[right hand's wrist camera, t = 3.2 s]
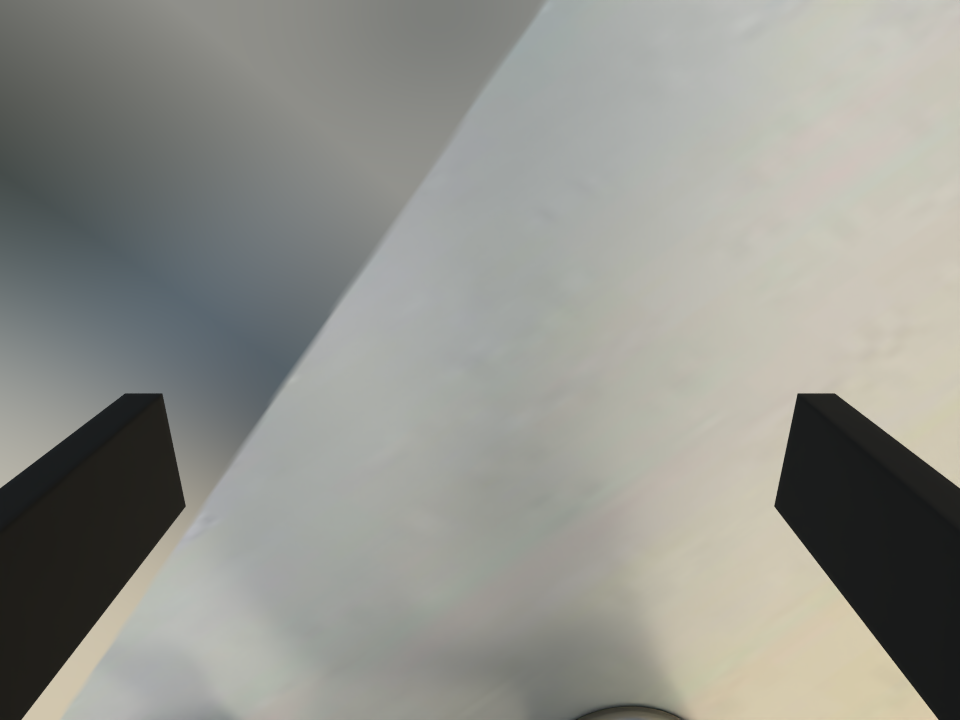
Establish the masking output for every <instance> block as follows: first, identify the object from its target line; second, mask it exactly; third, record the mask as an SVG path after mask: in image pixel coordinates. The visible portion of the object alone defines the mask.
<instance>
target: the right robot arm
mask: <svg viewBox="0 0 960 720" xmlns="http://www.w3.org/2000/svg"><path fill="white" fill-rule="evenodd" d="M774 507H775V508H776V509H777V510H778V512H779V513H780V514H781V516H782V517H783V518H784V520H785V521H786V522H787V523H788V525H789V526H790V527H791V529H792V530H793V531H794V533H795V534H796V535H797V536H798V538H799V539H800V540H801V542H802V543H803V544H804V546H805V547H806V548H807V549H808V551H809V552H810V553H811V555H812V556H813V557H814V559H815V560H816V561H817V562H818V564H819V565H820V566H821V568H822V569H823V570H824V571H825V573H826V574H827V575H828V577H829V578H830V579H831V581H832V582H833V583H834V584H835V586H836V587H837V588H838V590H839V591H840V592H841V594H842V595H843V596H844V597H845V599H846V600H847V601H848V603H849V604H850V605H851V607H852V608H853V609H854V610H855V612H856V613H857V614H858V616H859V617H860V618H861V620H862V621H863V622H864V623H865V625H866V626H867V627H868V629H869V630H870V631H871V633H872V634H873V635H874V636H875V638H876V639H877V640H878V642H879V643H880V644H881V646H882V647H883V648H884V649H885V651H886V652H887V653H888V655H889V656H890V657H891V658H892V660H893V661H894V662H895V664H896V665H897V666H898V668H899V669H900V670H901V671H902V673H903V674H904V675H905V677H906V678H907V679H908V681H909V682H910V683H911V684H912V686H913V687H914V688H915V690H916V691H917V692H918V694H919V695H920V696H921V697H922V699H923V700H924V701H925V703H926V704H927V705H928V707H929V708H930V709H931V710H932V712H933V713H934V714H935V716H936V717H937V718H938V720H960V488H959V487H957V486H956V485H955V484H953V483H952V482H951V481H949V480H948V479H947V478H945V477H944V476H943V475H941V474H940V473H939V472H937V471H936V470H935V469H934V468H932V467H931V466H930V465H928V464H927V463H926V462H924V461H923V460H922V459H920V458H919V457H918V456H916V455H915V454H914V453H912V452H911V451H910V450H909V449H907V448H906V447H905V446H903V445H902V444H901V443H899V442H898V441H897V440H895V439H894V438H893V437H891V436H890V435H889V434H887V433H886V432H885V431H883V430H882V429H881V428H880V427H878V426H877V425H876V424H874V423H873V422H872V421H870V420H869V419H868V418H866V417H865V416H864V415H862V414H861V413H860V412H858V411H857V410H856V409H855V408H853V407H852V406H851V405H849V404H848V403H847V402H845V401H844V400H843V399H841V398H840V397H839V396H837V395H836V394H798V395H797V399H796V404H795V409H794V414H793V419H792V423H791V428H790V433H789V438H788V443H787V448H786V452H785V457H784V462H783V467H782V472H781V477H780V481H779V486H778V491H777V496H776V501H775V506H774ZM184 508H185V501H184V496H183V491H182V486H181V481H180V477H179V472H178V467H177V462H176V457H175V452H174V448H173V443H172V438H171V433H170V429H169V424H168V419H167V414H166V409H165V404H164V399H163V395H162V394H124V395H123V396H121V397H120V398H119V399H117V400H116V401H115V402H114V403H112V404H111V405H109V406H108V407H107V408H105V409H104V410H103V411H102V412H100V413H99V414H98V415H96V416H95V417H94V418H92V419H91V420H90V421H88V422H87V423H86V424H84V425H83V426H82V427H80V428H79V429H78V430H77V431H75V432H74V433H73V434H71V435H70V436H69V437H67V438H66V439H65V440H63V441H62V442H61V443H59V444H58V445H57V446H55V447H54V448H53V449H52V450H50V451H49V452H48V453H46V454H45V455H44V456H42V457H41V458H40V459H38V460H37V461H36V462H34V463H33V464H32V465H30V466H29V467H28V468H26V469H25V470H24V471H23V472H21V473H20V474H19V475H17V476H16V477H15V478H13V479H12V480H11V481H9V482H8V483H7V484H5V485H4V486H3V487H1V488H0V720H22V718H23V717H24V716H25V714H26V713H27V712H28V710H29V709H30V708H31V707H32V705H33V704H34V703H35V701H36V700H37V699H38V697H39V696H40V695H41V694H42V692H43V691H44V690H45V688H46V687H47V686H48V684H49V683H50V682H51V681H52V679H53V678H54V677H55V675H56V674H57V673H58V671H59V670H60V669H61V668H62V666H63V665H64V664H65V662H66V661H67V660H68V658H69V657H70V656H71V655H72V653H73V652H74V651H75V649H76V648H77V647H78V646H79V644H80V643H81V642H82V640H83V639H84V638H85V636H86V635H87V634H88V633H89V631H90V630H91V629H92V627H93V626H94V625H95V623H96V622H97V621H98V620H99V618H100V617H101V616H102V614H103V613H104V612H105V610H106V609H107V608H108V606H109V605H110V604H111V603H112V601H113V600H114V599H115V597H116V596H117V595H118V594H119V592H120V591H121V590H122V588H123V587H124V586H125V584H126V583H127V582H128V581H129V579H130V578H131V577H132V575H133V574H134V573H135V571H136V570H137V569H138V568H139V566H140V565H141V564H142V562H143V561H144V560H145V559H146V557H147V556H148V555H149V553H150V552H151V551H152V549H153V548H154V547H155V546H156V544H157V543H158V542H159V540H160V539H161V538H162V536H163V535H164V534H165V533H166V531H167V530H168V529H169V527H170V526H171V525H172V523H173V522H174V521H175V520H176V518H177V517H178V516H179V514H180V513H181V512H182V510H183V509H184ZM577 720H681V719H680V718H678V717H676V716H674V715H672V714H669V713H666V712H664V711H660V710H656V709H652V708H645V707H616V708H610V709H604V710H600V711H597V712H594V713H591V714H588V715H586V716H583V717H581V718H579V719H577Z"/></svg>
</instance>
